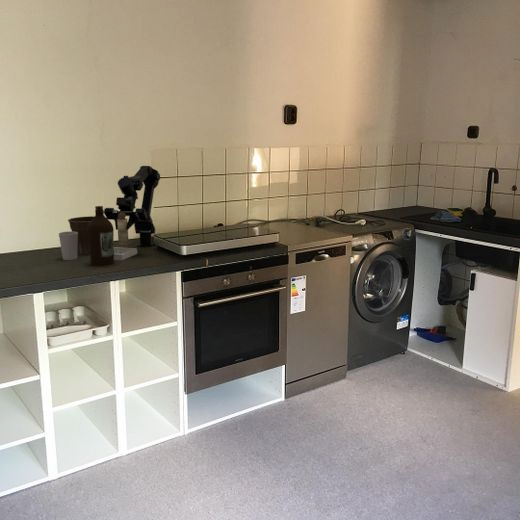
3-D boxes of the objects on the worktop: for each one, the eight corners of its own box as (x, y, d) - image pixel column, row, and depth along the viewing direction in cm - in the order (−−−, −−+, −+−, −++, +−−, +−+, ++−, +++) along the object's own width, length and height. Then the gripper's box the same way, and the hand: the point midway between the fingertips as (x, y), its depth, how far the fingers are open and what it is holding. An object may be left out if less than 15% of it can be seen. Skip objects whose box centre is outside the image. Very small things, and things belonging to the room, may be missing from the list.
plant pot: (64, 256, 266) (61, 221, 262) (79, 249, 281) (76, 215, 278) (98, 257, 264) (96, 221, 260) (111, 249, 280) (109, 216, 276)
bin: (113, 253, 271) (113, 247, 271) (137, 254, 268) (137, 248, 268) (97, 259, 258) (97, 253, 258) (122, 261, 255) (122, 254, 254)
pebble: (117, 257, 261) (116, 250, 260) (123, 257, 260) (122, 251, 259) (113, 258, 258) (113, 252, 257) (119, 259, 257) (119, 252, 256)
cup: (82, 257, 262) (80, 231, 259) (75, 261, 254) (73, 234, 252) (65, 257, 263) (63, 231, 260) (57, 261, 255) (55, 234, 252)
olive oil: (84, 265, 248) (80, 206, 242) (104, 260, 256) (100, 204, 251) (100, 268, 242) (97, 208, 236) (120, 264, 250) (117, 206, 245)
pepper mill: (123, 242, 263) (121, 210, 260) (130, 243, 261) (129, 211, 257) (116, 243, 259) (114, 212, 256) (123, 245, 257) (121, 213, 254)
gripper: (103, 189, 260) (95, 218, 252) (144, 190, 257) (136, 219, 249) (111, 204, 269) (103, 232, 261) (150, 205, 266) (143, 234, 258)
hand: (121, 229), depth 257 cm, fingers closed on pepper mill, 4 cm apart
